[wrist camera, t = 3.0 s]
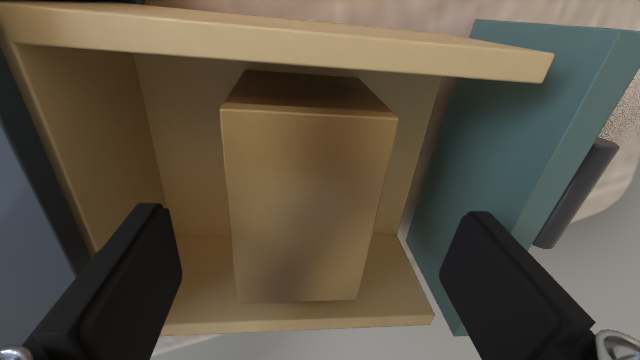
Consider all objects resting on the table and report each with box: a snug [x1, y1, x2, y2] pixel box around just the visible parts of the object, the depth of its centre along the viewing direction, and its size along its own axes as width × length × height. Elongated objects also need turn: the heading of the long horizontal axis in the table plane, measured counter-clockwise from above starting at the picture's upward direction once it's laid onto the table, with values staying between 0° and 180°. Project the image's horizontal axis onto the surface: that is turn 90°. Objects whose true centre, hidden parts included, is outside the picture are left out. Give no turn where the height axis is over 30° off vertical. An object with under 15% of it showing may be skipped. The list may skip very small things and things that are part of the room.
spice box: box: [219, 70, 399, 303], centre depth 12 cm, size 5×8×6 cm, turn 175°
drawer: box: [0, 0, 640, 336], centre depth 13 cm, size 21×13×7 cm, turn 85°
